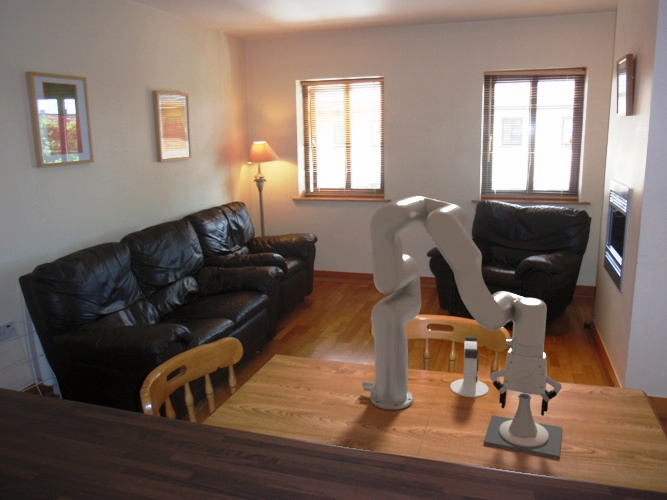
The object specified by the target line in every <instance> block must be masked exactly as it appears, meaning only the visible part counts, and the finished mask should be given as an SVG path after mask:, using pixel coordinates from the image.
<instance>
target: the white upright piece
mask: <svg viewBox="0 0 667 500" xmlns="http://www.w3.org/2000/svg"><path fill="white" fill-rule="evenodd" d="M477 337H478V336H464V347H463V348H464V349H463V350H464V351H463V378H462V379H456V380H454V381H452V382H451V384H450V386H449V388H450V390H451V392H453V393H454V394H456V395H459V396H462V397H466V398H480V397H483V396H485V395H487V394H488V393H489V386H487V384H486V383H484V382H482V381H480V380H478V376H477V375H478V371H479V354H478V353H479V347H478V343H477V342H478V338H477Z"/></svg>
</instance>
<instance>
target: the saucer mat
mask: <svg viewBox="0 0 667 500" xmlns="http://www.w3.org/2000/svg"><path fill="white" fill-rule="evenodd" d="M512 421H513V418H511V417H506V416H499V415H494V414H491V417H490V420H489V423H488V426H487V430H486V432H485V436H484V439H483V445H486V446H490V447H491V446H492V447H495V448H496V447H498V448H502V449H506V450H512V451H517V452H523V453H527V454H533V455H538V456H543V457H548V458H551V459H552V458H553V459H556V460H560V456H561V443H562V433H563V432H562V431H563V427H562V426H557V425H552V424H551V425H550V424H545V423H539V422H535V425H536V427H537V431H538V432H537V434H536V437H529V438H523V437H519V436H515V435H513V434H512V433H511V432H510V430H509V427H510V425H511V423H512Z"/></svg>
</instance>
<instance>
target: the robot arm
mask: <svg viewBox="0 0 667 500" xmlns="http://www.w3.org/2000/svg"><path fill="white" fill-rule="evenodd" d="M468 217H469V216H468V214H467V213H466V211H465V210H464V209H463V208H462V207H461V206H459V205H458V204H454V203H450V202H447V201H442V200H437V199H433V198H430V197H425V196H420V195H413V196H408V197H404V198H400V199H396V200H393V201H390V202H388V203H386V204H384V205H382V206H381V207H380V208H378V209H377V210H376V211H375V212H374V213H373V215H372V217H371V220H370V225H369V235H370V241H371V253H372V254H371V256H372V257H371V258H372V273H373V275H372V276H373V282H374V286H375V288H376V290H377V291H378V292H379V293H381V294H383V295H387V296H386V297H384V298H382V299H380V300H379V301H378V302H376V304H375V305H374V306H373V307H372V311H371V315H370V319H371V326H372V330H373V337H374V339H373V340H374V379H375V380H374V381H373V382H370V381H367V380H363V381H362V388H363V391H364V392H370V394H369V395H370V396H369V399H370V402H371V404H372V405H373V406H375V407H377V408H380V409H383V410H389V411H390V410H391V411H393V410H394V411H395V410H396V411H397V410H402V409H405V408H408V407H409V406H411V405H412V403H413V402H414V396H413V393H412V392H410V391H409V389H408V387H409V385H408V382H409V381H408V380H409V379H408V377H409V371H408V369H409V366H408V365H409V363H408V362H409V360H408V359H409V351H408V347H409V344H408V343H409V342H408V337H407V333H406V331H405V325H407V324H409V323H410V322H411V321H413V320H414V319H415V318H417V316H418V315H419V313H420V311H421V306H422V298H421V297H422V294H421V292H422V291H421V274H420V269H419V265H418V264H417V262H416V260H415V259H414V258H413V257H412V256H411V255H408V254H406V253H404V252H403V249H404V248H403V242H402V239H401V237H400V233H402V232H405V231H408V230H411V229H413V228H416V227H422V228H425V229H424V230H425V231H426V233H427V235H428V237H429V238H430V240H431V241H432V242H433V244H434V245H435V247H436V248H437V250H438V251H439V252H440V254H441V255H442V257H443V258H444V260H445V261H446V263H447V264H448V265H449V267H450V269H451V270H452V272H453V275H454V281H455V284H456V287H457V290H458V291H457V292H458V293H459V296H460V299H461V301H462V302H463V304H464V305H465V307H466V309H467V310H468V312H469V313H470V315H471V316H472V318H473V319H474V320H475V321H476V323H478V324H479V325H480V327H482V328H484V329H485V330H488V331H498V330H500V329H502V328H503V327H504V326H505V325H507V323H509V322H512V323H513V325H512V337H511V339H506V342H505V346H509V347H510V348H509V350H508V351H507V354H506V358H505V363H504V368H503V369H499V370H496V371H493V372H490V375H489V378H490V380H491V382H492V384H493V386H494V388H495V389H496V390H497V391H498V393H499V398H498V399H499V401H498V402H499V403H498V404H501V409H505V407H506V405H507V404H506V403H507V392H508V391H511V392H517V393H526V394H530V395H536V396H540V397H541V398H542V399H541V407H540V415H541V416H543V417H544V416H545V412H547V413H548V410H549V402H550V400H552V399H553V398H555V397H556V396H557V395H558V394H559V392H560V391H561V389H562V386H563V385H562V384H561V383H560V382H559V381H557V380H555V379H554V378H552V377H550V376H549V375H548V361H547V355H546V353H545V352H544V350H545V349H544V347H545V337H546V324H547V321H546V320H547V312H548V310H547V309H548V308H547V304H546V303H545V302H544V301H543V300H542V299H539V298H535V297H524V296H521V295H518V294H515V293H512V292H510V291H505V290H500V291H496V292H494V293H493V294H491V292H490V291H489V289H488V287H487V285H486V284H485V281H484V278H483V274H482V266H483V265H482V261H483V255H482V252H481V250H480V249H479V248H478V246H477V245H476V243H475V242H474V240H473V239H472V237H471V236H470V235H469V233H468V232H467V231H466V229H467V227H468V225H469V218H468ZM500 377H503V381H502V383H501V381H499V378H500ZM547 384H548V385H550V386H551V387H553V389H551V390H550V391H549V390H547ZM507 390H508V391H507Z"/></svg>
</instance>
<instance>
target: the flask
mask: <svg viewBox="0 0 667 500" xmlns="http://www.w3.org/2000/svg"><path fill="white" fill-rule="evenodd" d="M517 396H518V399H519V400H518V406H517V409H516V411H515V414H514V417H513V418H512V419H513V421H512V423H511V425H510V427H509V430H510V432H511V433H512V434H513V435H515V436H519V437H523V438H529V437H536V434H537V432H538V431H537V427H536V425H535V423H536V422H535V420H534V417H533V413H532V409H531V399H532V395H531V394H528V393H522V392H519V394H518V395H517Z"/></svg>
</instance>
